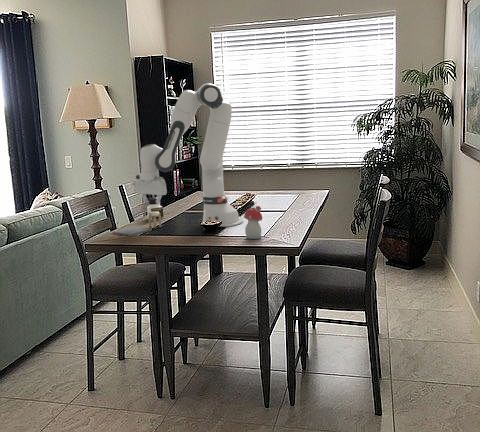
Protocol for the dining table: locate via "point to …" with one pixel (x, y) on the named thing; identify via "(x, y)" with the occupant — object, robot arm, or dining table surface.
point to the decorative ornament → (253, 223)
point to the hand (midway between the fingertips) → (151, 202)
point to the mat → (132, 231)
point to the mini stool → (154, 218)
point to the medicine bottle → (155, 208)
